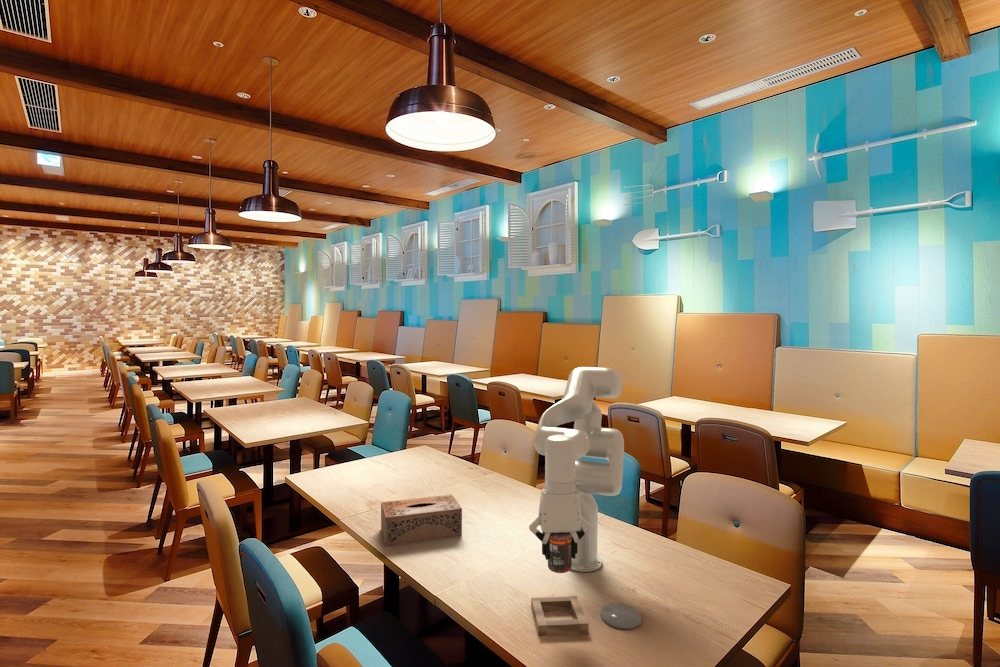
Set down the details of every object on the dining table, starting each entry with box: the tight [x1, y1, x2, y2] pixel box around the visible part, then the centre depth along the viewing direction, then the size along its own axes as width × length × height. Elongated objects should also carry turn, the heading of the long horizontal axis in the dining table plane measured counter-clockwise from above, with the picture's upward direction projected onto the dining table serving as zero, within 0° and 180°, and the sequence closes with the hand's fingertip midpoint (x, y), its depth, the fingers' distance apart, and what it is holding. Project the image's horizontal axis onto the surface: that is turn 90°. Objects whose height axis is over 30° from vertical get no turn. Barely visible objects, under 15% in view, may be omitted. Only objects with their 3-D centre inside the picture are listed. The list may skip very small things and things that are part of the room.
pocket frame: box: [530, 595, 589, 637], centre depth 127 cm, size 12×12×2 cm
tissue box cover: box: [380, 494, 463, 548], centre depth 177 cm, size 26×14×10 cm, turn 109°
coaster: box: [600, 602, 642, 630], centre depth 128 cm, size 10×10×1 cm
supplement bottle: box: [547, 532, 572, 574], centre depth 126 cm, size 6×6×11 cm
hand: (559, 556), depth 127 cm, fingers closed on supplement bottle, 6 cm apart
